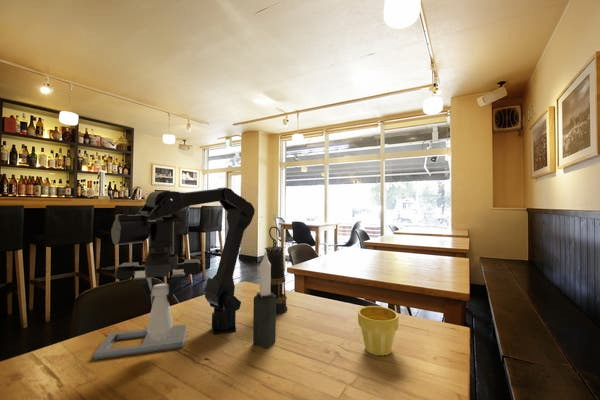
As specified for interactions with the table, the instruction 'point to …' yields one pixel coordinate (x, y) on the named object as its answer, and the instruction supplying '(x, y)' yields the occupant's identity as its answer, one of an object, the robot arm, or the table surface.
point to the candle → (264, 309)
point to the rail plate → (148, 345)
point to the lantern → (277, 274)
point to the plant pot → (378, 328)
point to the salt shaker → (160, 313)
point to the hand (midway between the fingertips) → (160, 302)
